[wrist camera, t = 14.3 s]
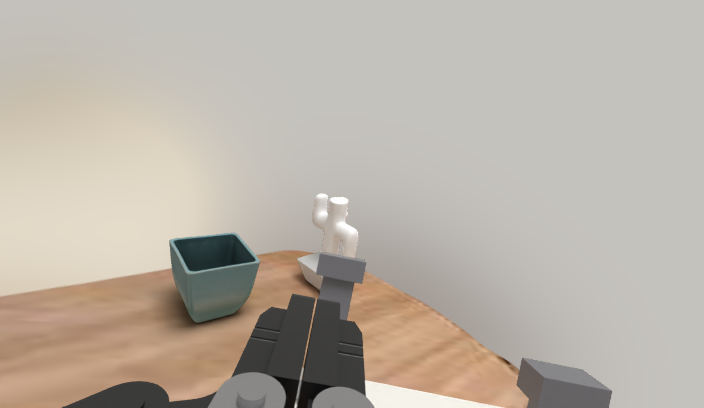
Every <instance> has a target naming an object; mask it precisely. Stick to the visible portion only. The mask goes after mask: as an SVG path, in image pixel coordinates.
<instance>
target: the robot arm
mask: <svg viewBox="0 0 704 408" xmlns="http://www.w3.org/2000/svg"><path fill="white" fill-rule="evenodd" d="M314 303H315V298H313V297H308V296H302V295H297V294H292V296H291V299H290V302H289V305H288V308H287V310H286V309H280V308H274V307H271V308H269V309H268V310H267V311H265V312H264V313H263V314H261V315H260V317H259V319H258V321H257V323H256V325H255V329H254V330H253V332H252V334H251V337H250V338H249V341H248V343H247V345H246V347H245V349H244V351H243V354H242V356H241V358H240V360H239V362H238V364H237V367H236V369H235V371H234V373H233V375H232V377H231V378H230V379H228V380H227V381H225V382H224V383H223V384H222V385H221V387H220V388H219V390H218V391H217V392H215V393H213V394H211V395H208V396H205V397H202V398H198V399H192V400H183V401H173V402H169V397H168V394H167V393H166V391H165V390H164V389H163V388H162V387H160V386H158V385H156V384H154V383H150V382H142V381H136V382H127V383H123V384H119V385H116V386H113V387H110V388H108V389H106V390H103V391H101V392H99V393H96V394H94V395H91V396H89V397H87V398H84V399H82V400H79V401H77V402H75V403H72V404H70V405H67V406H65V407H63V408H294V407H295V402H296V396H297V391H298V386H299V381H300V376H301V371H302V366H303V360H304V355H305V350H306V345H307V340H308V334H309V329H310V324H311V319H312V313H313V308H314ZM362 347H363V341H362V332H361V331H360V329H359V328H358V326H357V325H356V323H355V322H352V321H347V320H341V319H340V302H335V301H329V300H324V299H317V303H316V308H315V313H314V318H313V323H312V328H311V333H310V338H309V343H308V349H307V354H306V359H305V364H304V370H303V375H302V381H301V386H300V391H299V397H298V402H297V408H375V407H374V406H373V404H372V403H371V401H370V400H369V399H368V398H367V397H366V389H365V373H364V358H363V348H362Z"/></svg>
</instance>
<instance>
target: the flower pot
mask: <svg viewBox="0 0 704 408" xmlns="http://www.w3.org/2000/svg"><path fill="white" fill-rule="evenodd" d="M169 243H170V252H171V264H172V272H173V277H174V281H175V284H176V286H177V289H178V291H179V293H180V295H181V297H182V299H183V301H184V304H185V306H186V308H187V310H188V313H189V315H190V317H191V318H192V320H193V321H194V322H195V323H200V322H204V321H208V320H212V319H215V318H219V317H223V316H227V315H231V314H234V313H235V312H236V311H237V310H238V309H239V308H240V307H241V306H242V305H243V304H244V303H245V301H246V300H247V299H248V297H249V295H250V293H251V291H252V288H253V285H254V281H255V278H256V274H257V271H258V267H259V263H260V260H259V258H258V257H257V256H256V255H255V254H254V253H253V252H252V251H251V249H250V248H249V247H248V246H247V245H246V244H245V242H244V241H243V240H242V239H241V238H240V236H238V234H236V233H224V234H216V235H207V236H198V237H186V238H176V239H171V240H170V241H169Z"/></svg>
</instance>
